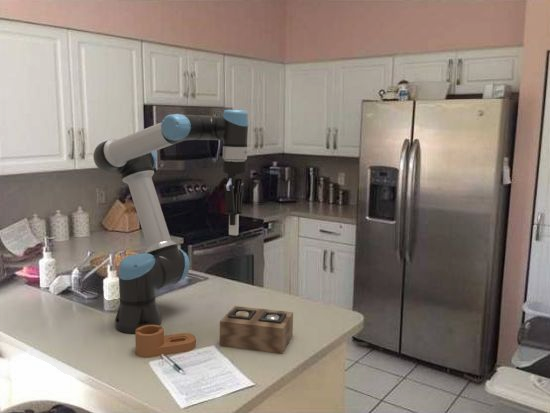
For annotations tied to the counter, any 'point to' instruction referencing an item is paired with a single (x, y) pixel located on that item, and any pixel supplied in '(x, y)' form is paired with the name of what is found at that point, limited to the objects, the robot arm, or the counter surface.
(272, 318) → the metal peg
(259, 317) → the walnut block
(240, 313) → the birch dowel
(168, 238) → the robot arm
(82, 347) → the counter surface
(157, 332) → the bracket
